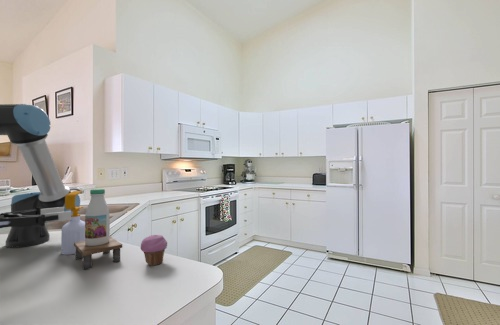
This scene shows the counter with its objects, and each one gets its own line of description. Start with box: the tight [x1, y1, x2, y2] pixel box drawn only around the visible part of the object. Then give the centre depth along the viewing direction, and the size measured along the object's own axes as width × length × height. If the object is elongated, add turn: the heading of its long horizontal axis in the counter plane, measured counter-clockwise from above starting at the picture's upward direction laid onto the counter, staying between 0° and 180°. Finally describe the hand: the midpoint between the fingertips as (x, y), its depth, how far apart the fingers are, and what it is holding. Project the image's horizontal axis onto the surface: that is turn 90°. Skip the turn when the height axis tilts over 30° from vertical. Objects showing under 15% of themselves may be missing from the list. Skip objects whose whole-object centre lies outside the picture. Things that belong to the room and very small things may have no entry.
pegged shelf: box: [74, 236, 123, 271], centre depth 91 cm, size 16×12×6 cm
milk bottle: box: [84, 188, 111, 246], centre depth 91 cm, size 8×8×20 cm
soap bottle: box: [60, 190, 85, 256], centre depth 101 cm, size 9×9×25 cm
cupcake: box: [140, 234, 168, 267], centre depth 86 cm, size 9×9×10 cm
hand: (67, 212), depth 85 cm, fingers open, 13 cm apart
